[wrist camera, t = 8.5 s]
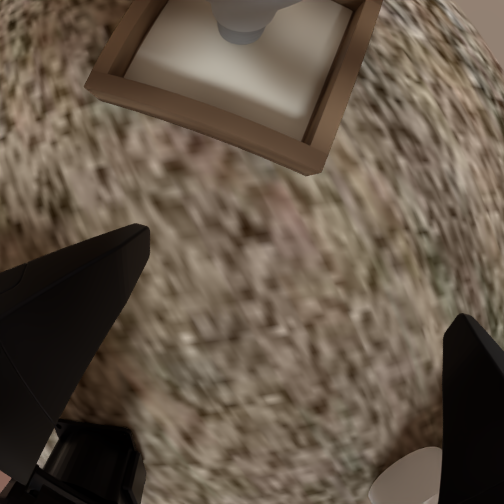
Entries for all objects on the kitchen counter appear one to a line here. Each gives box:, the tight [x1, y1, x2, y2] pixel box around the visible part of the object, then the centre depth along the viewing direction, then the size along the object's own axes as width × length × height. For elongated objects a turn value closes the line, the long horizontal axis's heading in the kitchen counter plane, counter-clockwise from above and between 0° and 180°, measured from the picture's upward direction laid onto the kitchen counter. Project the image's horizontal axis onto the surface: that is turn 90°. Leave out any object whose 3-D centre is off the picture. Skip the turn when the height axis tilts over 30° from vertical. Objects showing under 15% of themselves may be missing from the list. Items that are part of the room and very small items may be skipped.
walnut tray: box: [84, 0, 383, 176], centre depth 15 cm, size 13×13×3 cm
